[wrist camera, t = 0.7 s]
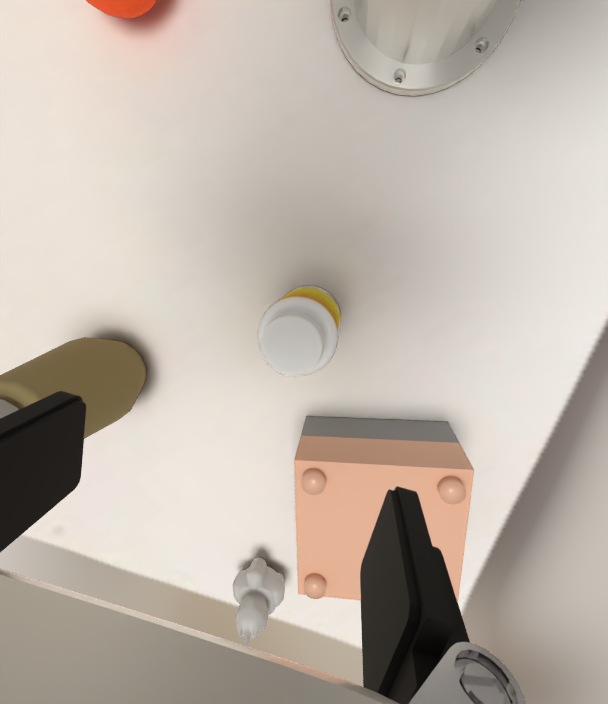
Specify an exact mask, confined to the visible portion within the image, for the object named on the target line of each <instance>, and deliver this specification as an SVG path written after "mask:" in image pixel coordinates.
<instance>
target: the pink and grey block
mask: <svg viewBox="0 0 608 704" xmlns="http://www.w3.org/2000/svg"><path fill="white" fill-rule="evenodd" d="M294 468H295V503H296V537H297V571H298V594H303V595H307V596H308V597H310V598H313V599H319V598H322V597H333V598H343V599H353V600H361V588H360V570H361V564H362V560H363V558H364V555H365V552H366V549H367V546H368V544H369V541H370V538H371V535H372V532H373V530H374V527H375V524H376V521H377V519H378V516H379V513H380V510H381V507H382V505H383V502H384V499H385V496H386V494H387V491H388V490H389V489H390V490H394V489H395V488H396V487H397V486H398V487H402V488H405V489H409V490H413V491H416V492H417V494H418V497H419V500H420V504H421V507H422V511H423V514H424V518H425V521H426V525H427V528H428V532H429V535H430V539H431V542H432V546H434V547H437V548H439V549H440V550H441V552H442V554H443V557H444V561H445V564H446V567H447V570H448V574H449V577H450V580H451V583H452V587H453V590H454V593H455V596H456V599H457V603H458V596H459V588H460V580H461V572H462V564H463V556H464V547H465V539H466V531H467V523H468V515H469V507H470V499H471V491H472V483H473V474H474V469H473V467H472V465H471V463H470V462H469V460H468V458H467V456H466V454H465V452H464V451H463V449H462V447H461V445H460V443H459V441H458V439H457V438H456V436H455V434H454V432H453V430H452V428H451V427H450V425H449V423H448V422H442V421H417V420H392V419H366V418H341V417H316V416H306V419H305V423H304V427H303V430H302V434H301V437H300V441H299V445H298V448H297V452H296V456H295V459H294Z"/></svg>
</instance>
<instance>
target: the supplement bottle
mask: <svg viewBox="0 0 608 704" xmlns="http://www.w3.org/2000/svg"><path fill="white" fill-rule="evenodd" d="M340 324H341V313H340V309H339V306H338V304H337V302H336V300H335V299H334V297H333V296H332V295H331V294H330V293H328V292H327V291H325V290H324V289H322V288H319V287H315V286H302V287H299V288H296V289H294V290H292V291H291V292H289V293H288V294H286V295H285V296H284V297H282V298H281V299H280V300H278V301H277V302H276V303H274V304H273V305H272V306H271V307H270V308H269V309H268V310H267V311H266V312H265V313H264V315H263V317H262V319H261V321H260V323H259V327H258V344H259V347H260V350H261V352H262V355H263V358H264V360H265V361H266V363H267V364H268V365H269V366H270V367H271V368H272V369H273V370H274V371H276V372H278V373H280V374H282V375H286V376H304V375H309V374H312V373H315V372H317V371H319V370H320V369H322V368H323V367H324V366H325V365H326V364H327V363H328V362H329V361H330V360H331V358H332V357H333V355H334V353H335V350H336V347H337V343H338V336H339V330H340Z"/></svg>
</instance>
